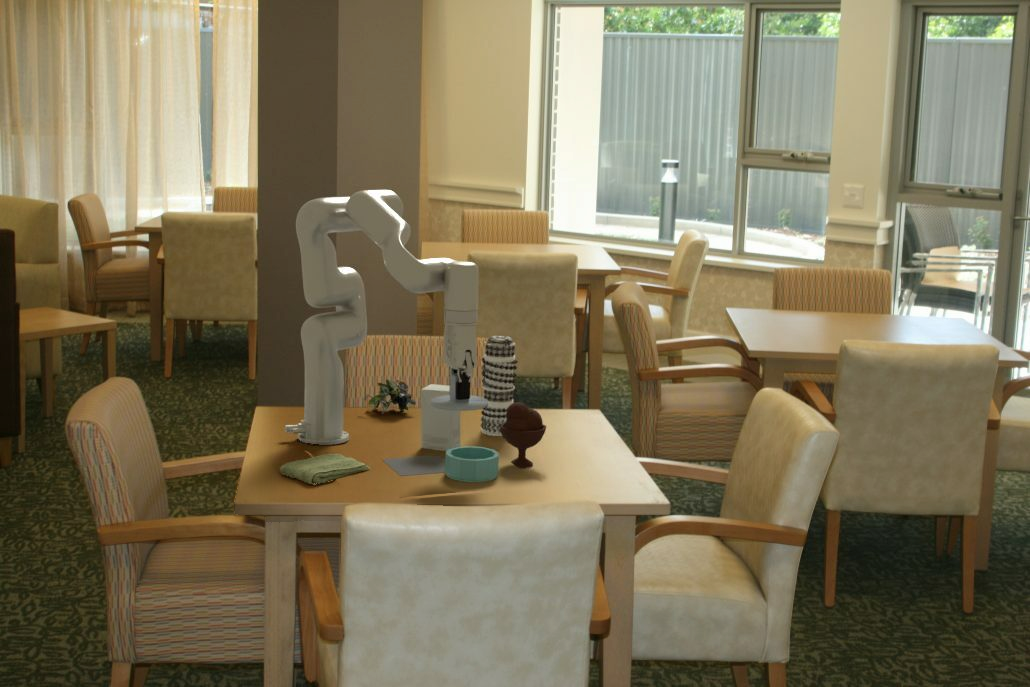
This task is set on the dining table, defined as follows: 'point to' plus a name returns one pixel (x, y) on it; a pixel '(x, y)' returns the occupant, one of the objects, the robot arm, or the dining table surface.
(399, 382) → the green leafy plant
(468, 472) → the bowl
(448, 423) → the skincare box
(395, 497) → the dining table surface
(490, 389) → the decorative candle
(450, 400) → the lid
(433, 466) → the mat
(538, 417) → the ice cream bowl
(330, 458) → the washcloth
